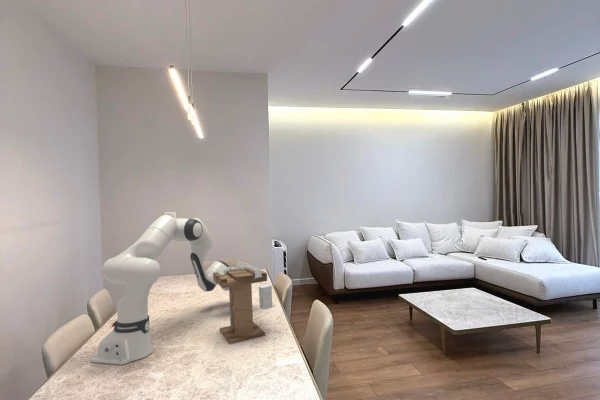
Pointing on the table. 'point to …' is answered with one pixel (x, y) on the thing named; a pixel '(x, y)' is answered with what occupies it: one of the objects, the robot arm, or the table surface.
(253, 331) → the walnut pedestal
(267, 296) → the skincare box
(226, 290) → the robot arm
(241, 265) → the aluminium bar
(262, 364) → the table surface
